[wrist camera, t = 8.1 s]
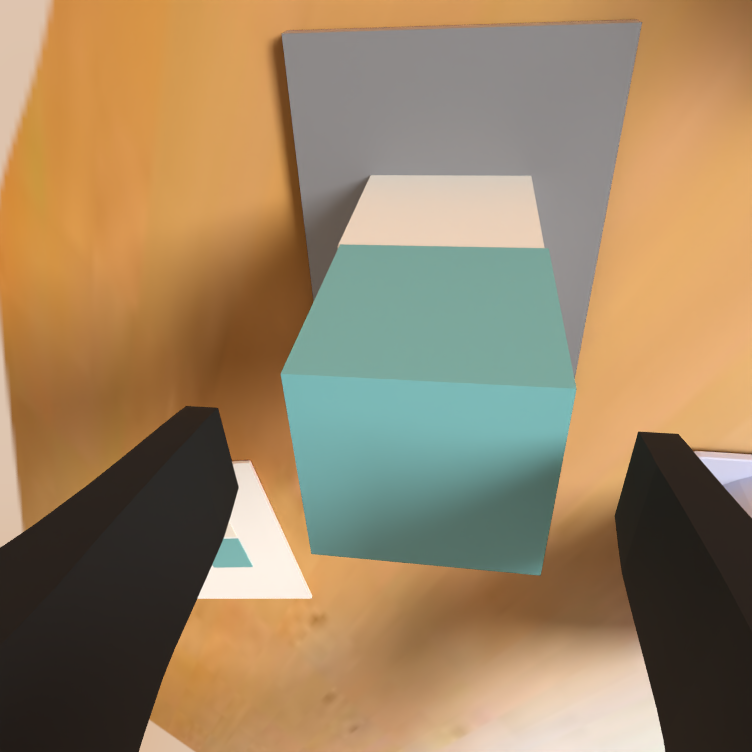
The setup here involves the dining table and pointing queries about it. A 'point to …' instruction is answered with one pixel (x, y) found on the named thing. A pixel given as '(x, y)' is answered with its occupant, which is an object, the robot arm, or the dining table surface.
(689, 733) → the robot arm
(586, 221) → the plate
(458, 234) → the cream brick
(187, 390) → the dining table surface
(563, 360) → the teal brick
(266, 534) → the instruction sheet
